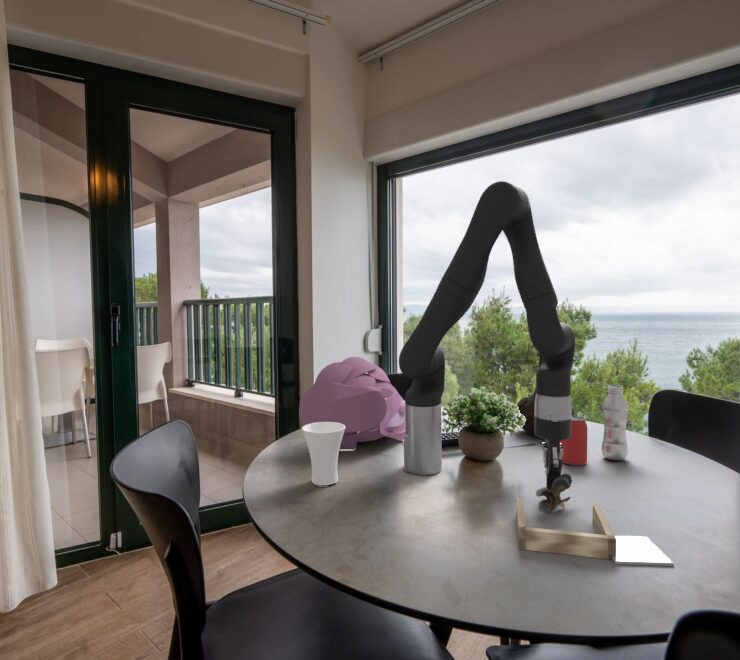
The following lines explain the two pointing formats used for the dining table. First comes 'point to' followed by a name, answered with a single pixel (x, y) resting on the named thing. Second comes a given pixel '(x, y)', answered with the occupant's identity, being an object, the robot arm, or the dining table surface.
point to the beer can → (576, 443)
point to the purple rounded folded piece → (355, 402)
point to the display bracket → (568, 537)
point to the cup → (324, 450)
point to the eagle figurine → (556, 491)
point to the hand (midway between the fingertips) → (551, 492)
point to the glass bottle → (530, 408)
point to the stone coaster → (639, 552)
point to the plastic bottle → (615, 424)
